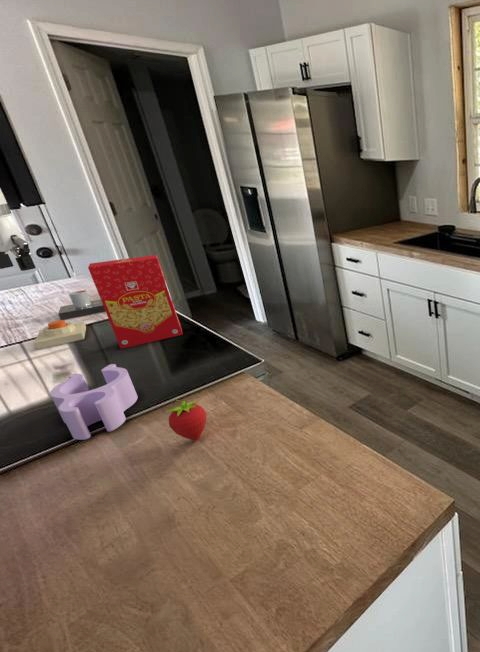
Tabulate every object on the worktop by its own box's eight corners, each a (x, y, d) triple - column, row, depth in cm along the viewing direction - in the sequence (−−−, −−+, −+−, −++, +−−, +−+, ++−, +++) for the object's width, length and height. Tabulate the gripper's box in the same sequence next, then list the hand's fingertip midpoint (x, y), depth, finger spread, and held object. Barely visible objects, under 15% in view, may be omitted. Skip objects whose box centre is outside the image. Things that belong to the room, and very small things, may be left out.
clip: (138, 422, 89) (126, 395, 86) (56, 448, 81) (41, 420, 79) (137, 384, 103) (127, 360, 100) (67, 404, 95) (54, 378, 93)
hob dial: (73, 308, 145) (67, 294, 143) (74, 305, 148) (68, 291, 146) (91, 305, 147) (85, 291, 145) (91, 302, 150) (86, 288, 148)
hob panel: (60, 320, 142) (57, 313, 141) (63, 312, 148) (60, 306, 147) (107, 311, 149) (105, 304, 148) (108, 304, 155) (105, 298, 154)
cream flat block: (84, 339, 127) (79, 327, 126) (37, 349, 121) (31, 337, 120) (86, 327, 136) (81, 316, 134) (42, 336, 130) (37, 324, 128)
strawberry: (180, 456, 79) (164, 413, 75) (174, 438, 84) (158, 397, 80) (217, 442, 83) (202, 400, 79) (209, 425, 88) (195, 385, 84)
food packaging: (120, 348, 121) (87, 267, 112) (121, 342, 125) (90, 263, 116) (182, 334, 130) (157, 258, 121) (181, 329, 134) (156, 254, 125)
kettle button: (66, 327, 127) (63, 322, 126) (49, 330, 125) (47, 325, 124) (67, 324, 130) (64, 319, 129) (50, 327, 127) (48, 322, 127)
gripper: (-49, 213, 117) (-20, 270, 123) (-7, 214, 113) (20, 274, 119) (-12, 209, 124) (14, 263, 130) (28, 210, 120) (53, 266, 126)
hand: (17, 268), depth 125 cm, fingers open, 9 cm apart
